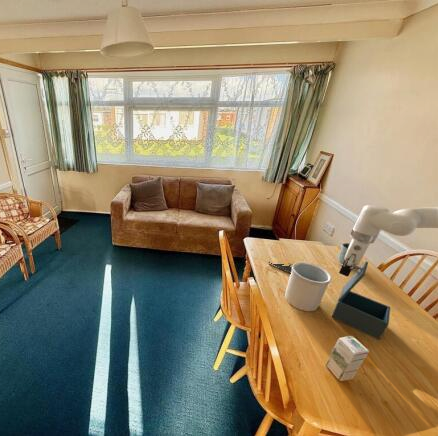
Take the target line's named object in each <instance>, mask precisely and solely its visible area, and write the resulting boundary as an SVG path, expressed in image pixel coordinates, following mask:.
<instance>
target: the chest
mask: <svg viewBox="0 0 438 436" xmlns="http://www.w3.org/2000/svg"><path fill="white" fill-rule="evenodd" d="M390 315H391V306H389V305H386V304H384V303H381V302H379V301H376V300H374V299H371V298H370V297H367V296H365V295H362V294H359V293H357V292H354V291H352V290H351V291H350V292H349V293H348V294H347V295H346V296H345V297H344V298H343V299H342V300H341V301H340V302H339V301H338V300H337V302H336V304H335V306H334V309H333V312H332V314H331V318H333V319H335V320H337V321H339V322H341V323H343V324H344V325H347V326H349V327H352V328H354V329H355V330H358V331H359V332H362V333H363V334H366V335H368V336H370V337H372V338H375V339H377V340H380V339H381V337H382V336H383V334H384V333H385V331H386V329H387V328H388V326H389V325H390Z"/></svg>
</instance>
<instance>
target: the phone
mask: <svg viewBox="0 0 438 436" xmlns="http://www.w3.org/2000/svg"><path fill="white" fill-rule="evenodd" d="M268 263H270V262H269V261H268ZM271 264H272V263H271ZM289 264H290V263H289ZM273 265H275V266H277V267H279V268H281V269H283V270H286V271H288V272H290V273H291V271H292V267H290V266H291V265H292V266H293V264H290V265H289V266H282V265H284V264H273ZM279 268H278V269H279ZM281 269H280V270H281ZM283 270H282V271H283ZM286 271H285V272H286ZM288 272H287V273H288ZM290 273H289V274H290Z"/></svg>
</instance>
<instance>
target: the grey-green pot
mask: <svg viewBox="0 0 438 436" xmlns="http://www.w3.org/2000/svg"><path fill="white" fill-rule="evenodd" d="M350 243H351V242H349V243H348V242H344V243H342V244H341V248H340V251H339V253H338V254H339V255H338V257H337V260H338V261H339V262H340V263H341V264H343V263H344V261H345V255H346V252H347V250H348V247H349V245H350ZM354 264H355V263H354ZM355 265H357V264H355ZM357 266H358V265H357ZM353 267H354V266H353Z"/></svg>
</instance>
